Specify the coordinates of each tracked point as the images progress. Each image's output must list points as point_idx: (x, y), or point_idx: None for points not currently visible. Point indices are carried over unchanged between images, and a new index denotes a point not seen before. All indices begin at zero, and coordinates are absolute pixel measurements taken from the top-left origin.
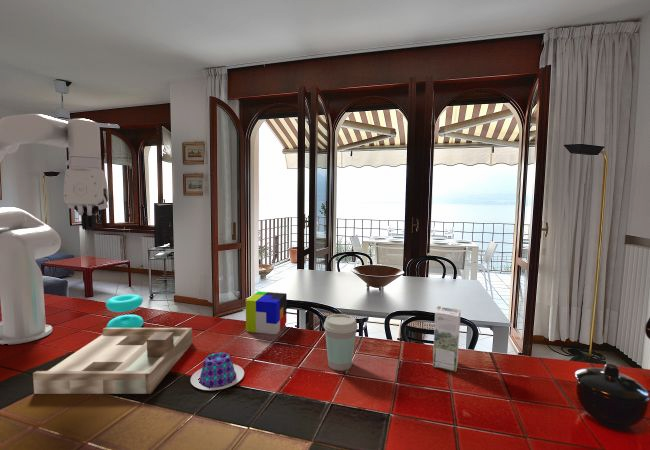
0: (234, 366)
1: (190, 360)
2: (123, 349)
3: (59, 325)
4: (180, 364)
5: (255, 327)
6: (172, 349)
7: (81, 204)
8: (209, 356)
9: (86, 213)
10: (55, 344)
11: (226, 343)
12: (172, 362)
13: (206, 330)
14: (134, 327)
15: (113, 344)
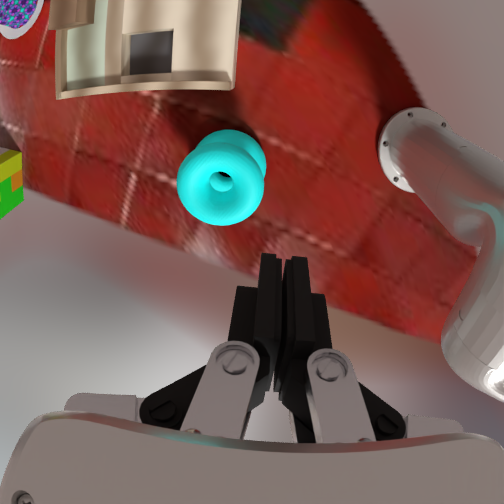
0: (8, 34)
1: None
2: (148, 12)
3: (381, 197)
4: None
5: (5, 152)
6: None
7: (295, 443)
8: (10, 5)
9: (288, 385)
10: (338, 92)
11: (30, 102)
12: None
13: (72, 151)
14: (198, 144)
15: (179, 30)
